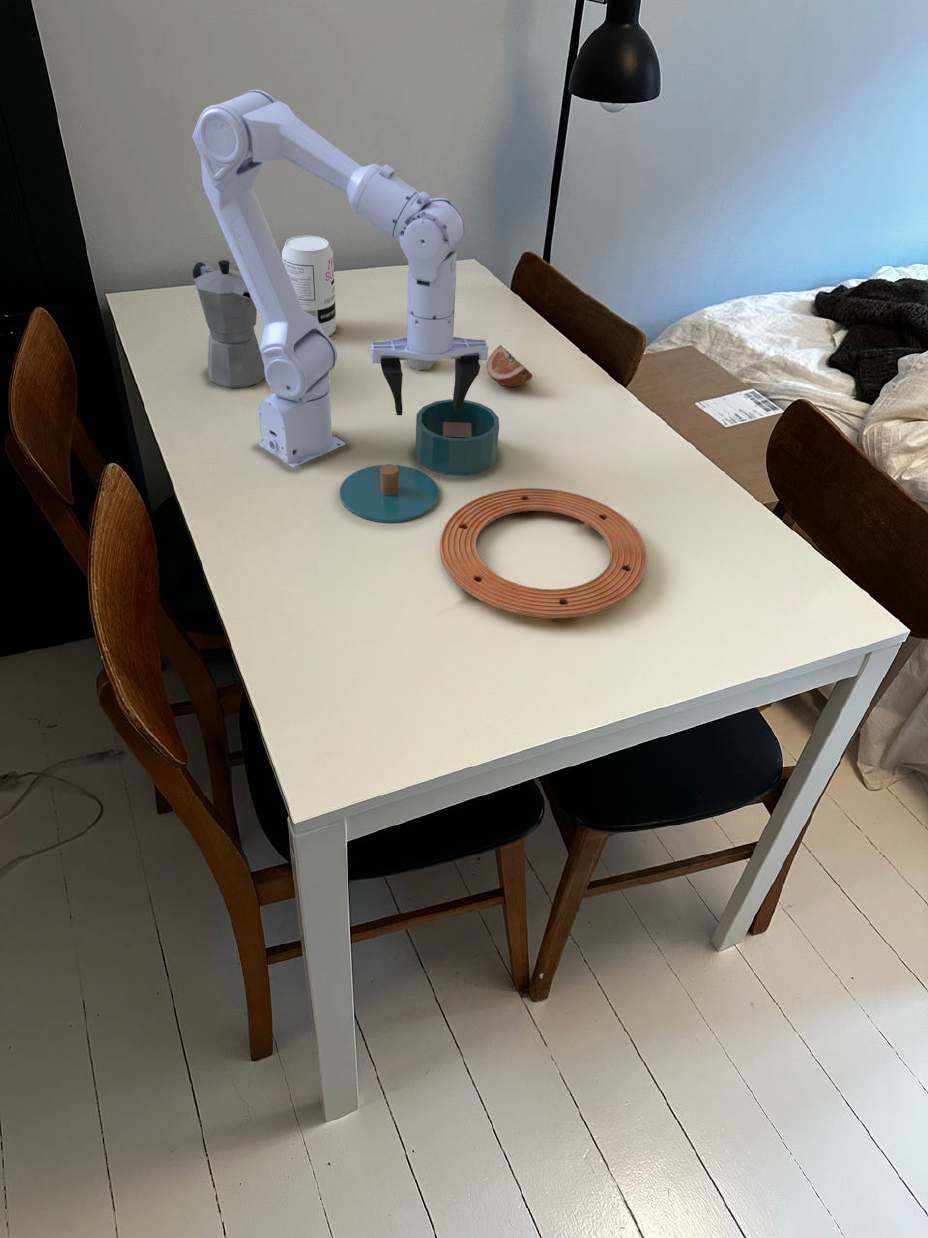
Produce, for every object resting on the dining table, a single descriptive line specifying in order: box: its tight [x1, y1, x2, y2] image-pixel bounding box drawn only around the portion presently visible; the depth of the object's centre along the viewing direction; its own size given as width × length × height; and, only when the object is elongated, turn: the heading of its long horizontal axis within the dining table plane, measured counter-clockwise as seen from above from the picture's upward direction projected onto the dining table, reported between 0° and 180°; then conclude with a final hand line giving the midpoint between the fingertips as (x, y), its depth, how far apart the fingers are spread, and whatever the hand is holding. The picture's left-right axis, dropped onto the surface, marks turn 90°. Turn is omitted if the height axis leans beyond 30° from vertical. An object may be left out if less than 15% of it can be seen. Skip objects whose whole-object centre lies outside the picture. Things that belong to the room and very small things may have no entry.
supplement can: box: [281, 235, 337, 338], centre depth 155 cm, size 8×8×15 cm
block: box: [442, 422, 472, 439], centre depth 131 cm, size 4×4×4 cm
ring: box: [439, 487, 648, 620], centre depth 114 cm, size 25×25×2 cm
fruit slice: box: [486, 344, 533, 387], centre depth 148 cm, size 8×7×5 cm
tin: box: [414, 398, 500, 477], centre depth 130 cm, size 11×11×6 cm
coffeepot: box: [192, 259, 265, 389], centre depth 142 cm, size 15×9×18 cm, turn 44°
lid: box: [339, 463, 439, 524], centre depth 122 cm, size 13×13×4 cm
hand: (427, 410), depth 122 cm, fingers open, 7 cm apart
